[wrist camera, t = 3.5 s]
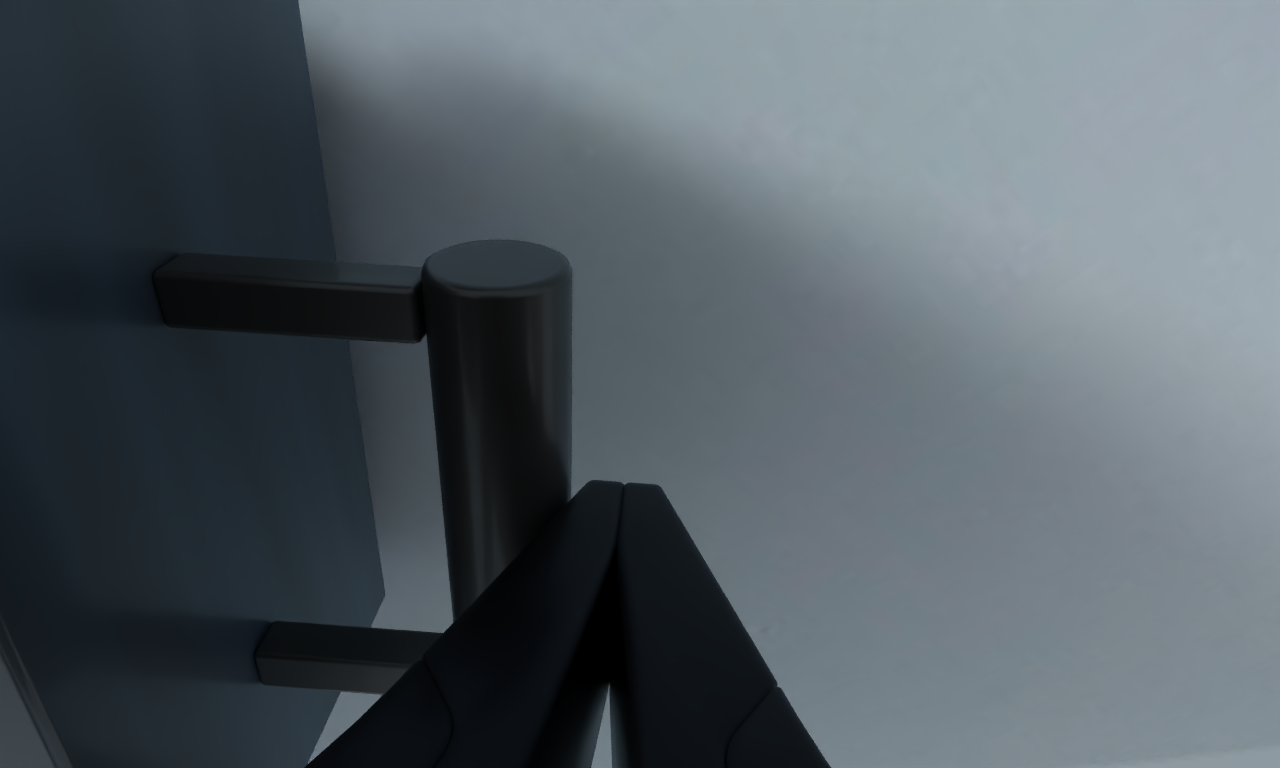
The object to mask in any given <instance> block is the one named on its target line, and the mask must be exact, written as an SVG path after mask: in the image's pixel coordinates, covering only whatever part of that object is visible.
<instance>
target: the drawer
mask: <svg viewBox="0 0 1280 768" xmlns="http://www.w3.org/2000/svg"><path fill="white" fill-rule="evenodd" d="M425 335H427V345H428V356H429V367H430V378H431V388H432V399H433V410H434V420H435V431H436V442H437V453H438V463H439V474H440V485H441V495H442V506H443V517H444V527H445V538H446V549H447V560H448V570H449V581H450V592H451V602H452V613H453V623H454V622H455V621H456V619H457V618H458V617H459V616H460V615H461V614H462V613H463V612H464V611H465V610H466V609H467V608H468V607H469V606H470V605H471V604H472V603H473V602H474V601H475V600H476V599H477V598H478V596H479V595H480V594H481V593H482V592H483V591H484V590H485V589H486V588H487V587H488V586H489V585H490V584H491V583H492V582H493V581H494V580H495V579H496V578H497V577H498V576H499V575H500V573H501V572H502V571H503V570H504V569H505V568H506V567H507V566H508V565H509V564H510V563H511V562H512V561H513V560H514V559H515V558H516V557H517V556H518V555H519V554H520V553H521V552H522V550H523V549H524V548H525V547H526V546H527V545H528V544H529V543H530V542H531V541H532V540H533V539H534V538H535V537H536V536H537V535H538V534H539V533H540V532H541V531H542V530H543V529H544V527H545V526H546V525H547V524H548V523H549V522H550V521H551V520H552V519H553V518H554V517H555V516H556V515H557V514H558V513H559V512H560V511H561V510H562V509H563V508H564V507H565V506H566V504H567V503H568V502H569V501H570V500H571V465H572V268H571V266H570V263H569V261H568V259H567V258H566V257H565V256H564V255H563V254H561V253H560V252H558V251H556V250H554V249H552V248H549V247H546V246H543V245H539V244H535V243H530V242H524V241H517V240H481V241H473V242H467V243H462V244H458V245H454V246H450V247H447V248H444V249H442V250H439V251H437V252H436V253H434V254H432V255H431V256H429V257H428V258H427V259H426V261H425V263H424V265H423V267H408V266H392V265H376V264H361V263H345V262H336V256H335V249H334V242H333V235H332V228H331V222H330V215H329V208H328V201H327V194H326V187H325V181H324V174H323V167H322V160H321V153H320V147H319V140H318V133H317V126H316V119H315V113H314V106H313V99H312V92H311V85H310V79H309V72H308V65H307V58H306V51H305V45H304V38H303V31H302V24H301V17H300V11H299V4H298V0H0V768H304V767H305V766H306V765H307V763H308V761H309V759H310V757H311V755H312V753H313V750H314V748H315V746H316V744H317V742H318V740H319V737H320V735H321V733H322V731H323V729H324V727H325V724H326V722H327V720H328V718H329V716H330V714H331V711H332V709H333V707H334V705H335V703H336V701H337V698H338V696H339V694H340V692H354V693H367V694H380V695H384V694H385V693H386V692H387V691H388V690H389V689H390V688H391V687H392V686H393V685H394V684H395V683H396V682H397V681H398V680H399V679H400V678H401V677H402V675H403V674H404V673H405V672H406V671H407V670H408V669H409V668H410V667H411V666H412V665H413V664H414V663H415V662H416V661H417V660H422V655H423V654H424V653H425V652H426V651H427V650H428V649H429V648H430V647H431V646H432V645H433V644H434V642H435V641H436V640H437V639H438V638H439V637H440V636H441V635H442V634H443V633H435V632H422V631H409V630H395V629H382V628H370V627H371V625H372V623H373V620H374V618H375V616H376V614H377V612H378V610H379V607H380V605H381V603H382V601H383V599H384V597H385V589H384V582H383V575H382V568H381V562H380V555H379V548H378V541H377V534H376V528H375V521H374V514H373V507H372V500H371V494H370V487H369V480H368V473H367V466H366V460H365V453H364V446H363V439H362V432H361V426H360V419H359V412H358V405H357V398H356V392H355V385H354V378H353V371H352V364H351V358H350V351H349V344H348V339H351V340H366V341H381V342H397V343H412V344H414V343H419V342H421V341H422V339H423V338H424V336H425Z"/></svg>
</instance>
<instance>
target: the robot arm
mask: <svg viewBox="0 0 1280 768" xmlns="http://www.w3.org/2000/svg"><path fill="white" fill-rule="evenodd" d="M609 685H610V722H611V749H612V768H831V767H830V765H829V764H828V763H827V761H826V760H825V758H824V757H823V755H822V753H821V752H820V750H819V749H818V747H817V746H816V744H815V743H814V741H813V739H812V738H811V736H810V735H809V733H808V732H807V730H806V729H805V727H804V726H803V724H802V722H801V721H800V719H799V718H798V716H797V714H796V713H795V711H794V709H793V708H792V706H791V704H790V703H789V701H788V699H787V697H786V696H785V694H784V692H783V691H782V689H781V688H779V687H777V681H776V680H775V678H774V676H773V675H772V673H771V671H770V669H769V668H768V666H767V664H766V663H765V661H764V659H763V658H762V656H761V654H760V653H759V651H758V649H757V648H756V646H755V644H754V643H753V641H752V639H751V638H750V636H749V634H748V633H747V631H746V629H745V627H744V626H743V624H742V622H741V621H740V619H739V617H738V616H737V614H736V612H735V611H734V609H733V607H732V606H731V604H730V602H729V601H728V599H727V597H726V596H725V594H724V592H723V591H722V589H721V587H720V585H719V584H718V582H717V580H716V579H715V577H714V575H713V574H712V572H711V570H710V569H709V567H708V565H707V564H706V562H705V560H704V559H703V557H702V555H701V554H700V552H699V550H698V549H697V547H696V545H695V544H694V542H693V540H692V538H691V537H690V535H689V533H688V532H687V530H686V528H685V527H684V525H683V523H682V522H681V520H680V518H679V517H678V515H677V513H676V512H675V510H674V508H673V507H672V505H671V503H670V502H669V500H668V498H667V496H666V495H665V493H664V491H663V490H662V488H661V487H660V486H658V485H656V484H643V483H627V484H625V485H624V484H623V483H622V482H615V481H601V480H591V481H589V482H588V483H587V484H586V485H585V486H584V487H583V488H582V489H581V490H580V491H579V492H578V493H577V494H576V495H575V496H574V497H573V498H572V499H571V500H570V501H569V502H568V503H567V504H566V506H565V507H564V508H563V509H562V510H561V511H560V512H559V513H558V514H557V515H556V516H555V517H554V518H553V519H552V520H551V521H550V522H549V523H548V524H547V525H546V526H545V527H544V529H543V530H542V531H541V532H540V533H539V534H538V535H537V536H536V537H535V538H534V539H533V540H532V541H531V542H530V543H529V544H528V545H527V546H526V547H525V548H524V549H523V550H522V552H521V553H520V554H519V555H518V556H517V557H516V558H515V559H514V560H513V561H512V562H511V563H510V564H509V565H508V566H507V567H506V568H505V569H504V570H503V571H502V572H501V573H500V575H499V576H498V577H497V578H496V579H495V580H494V581H493V582H492V583H491V584H490V585H489V586H488V587H487V588H486V589H485V590H484V591H483V592H482V593H481V594H480V595H479V596H478V598H477V599H476V600H475V601H474V602H473V603H472V604H471V605H470V606H469V607H468V608H467V609H466V610H465V611H464V612H463V613H462V614H461V615H460V616H459V617H458V618H457V619H456V621H455V622H454V623H453V624H452V625H451V626H450V627H449V628H448V629H447V630H446V631H445V632H444V633H443V634H442V635H441V636H440V637H439V638H438V639H437V640H436V641H435V642H434V644H433V645H432V646H431V647H430V648H429V649H428V650H427V651H426V652H425V653H424V654H423V655H422V660H417V661H416V662H415V663H414V664H413V665H412V666H411V667H410V668H409V669H408V670H407V671H406V672H405V673H404V674H403V675H402V677H401V678H400V679H399V680H398V681H397V682H396V683H395V684H394V685H393V686H392V687H391V688H390V689H389V690H388V691H387V692H386V693H385V694H384V695H383V696H382V697H381V698H380V699H379V700H378V701H377V702H376V703H375V704H374V705H373V706H372V707H371V708H369V709H368V710H367V711H366V712H365V713H364V714H363V715H362V716H361V717H360V718H359V719H358V720H357V721H356V722H355V723H354V724H353V725H352V726H351V727H350V728H348V729H347V730H346V731H345V732H344V733H343V734H342V735H340V736H339V737H338V738H337V739H336V740H335V741H334V742H333V743H331V744H330V745H329V746H328V747H327V748H326V749H325V750H324V751H322V752H321V753H320V754H319V755H318V756H317V757H316V758H315V759H313V760H312V761H311V762H310V763H309V764H308V765H306V766H305V767H304V768H591V766H592V761H593V757H594V752H595V748H596V743H597V739H598V734H599V729H600V725H601V720H602V716H603V711H604V707H605V702H606V698H607V693H608V687H609Z"/></svg>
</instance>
